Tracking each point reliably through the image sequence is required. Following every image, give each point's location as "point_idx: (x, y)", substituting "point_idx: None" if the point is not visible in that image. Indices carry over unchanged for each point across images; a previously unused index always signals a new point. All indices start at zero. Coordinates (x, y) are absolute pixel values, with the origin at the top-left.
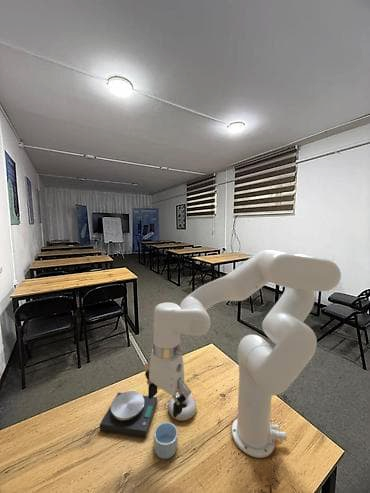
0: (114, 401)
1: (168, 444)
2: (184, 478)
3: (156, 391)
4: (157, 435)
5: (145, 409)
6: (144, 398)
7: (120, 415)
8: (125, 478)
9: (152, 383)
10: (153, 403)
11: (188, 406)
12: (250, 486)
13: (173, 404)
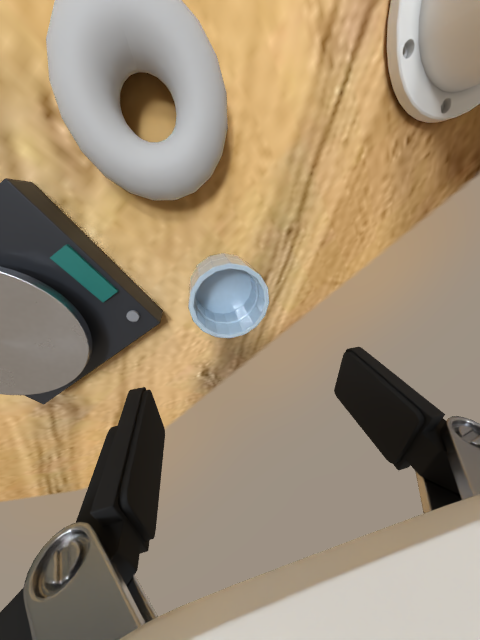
0: None
1: (261, 319)
2: (301, 299)
3: (147, 408)
4: (197, 304)
5: (64, 276)
6: None
7: (58, 379)
8: (209, 376)
9: (136, 559)
10: (46, 227)
11: (196, 104)
12: (433, 207)
13: (387, 458)
